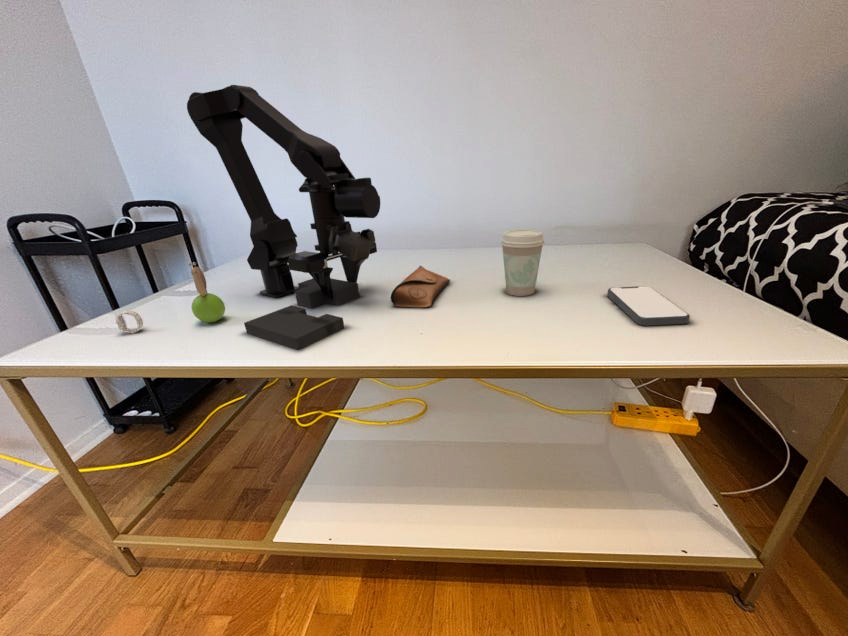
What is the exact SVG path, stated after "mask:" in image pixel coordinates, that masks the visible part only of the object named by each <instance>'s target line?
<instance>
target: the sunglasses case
mask: <svg viewBox="0 0 848 636" xmlns="http://www.w3.org/2000/svg"><path fill="white" fill-rule="evenodd" d="M450 281H451V279H450V278H448V277H446V276H443V275H441V274H438V273H436V272H433V271H431V270H428V269H426V268H425V267H424V266H422V265H419V266H418V267H417V268H416V269H415V270H414V271H413V272H411V273H409V275H408V276H406V277H405V278H404V279H403V280H402V281H401V282H400V283H399V284H397V286H395V288H394V289H393V290H392V291H391V294H390V302H391V303H392V305H394V306H395V307H397V308H407V309H417V308H418V309H419V308H420V309H421V308H422V309H423V308H429V307H432V305H433V302H434V301H435V299H436V298H437V296H438V295H439V294H440V292H442V290H443V289H445V287H446V286H447V285H448V284H449V283H450Z"/></svg>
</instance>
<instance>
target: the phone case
mask: <svg viewBox="0 0 848 636" xmlns="http://www.w3.org/2000/svg"><path fill="white" fill-rule="evenodd" d="M606 295H607V296H608V297H609V298H610V299H611V300H612V301H613V302H614V303H615V304H616V305H617V306H618V307H619V308H620V309H621V310H622V311H623V312H624V313H625V314H626V315H627V316H628V317H629V318H630V319H632V321H634V322H635V323H636V324H637V325H640V326H643V327H644V326H646V327H650V326H670V325H686V324H689V322H690V318H691V317H690V316H691V315H690V314H689V313H688V312H686V311H685V310H684V309H682V308H681V307H680V306H679V305H676V303H674V302H673V301H671V300H670V299H669V298H667V297H665V296H664V295H663V294H661V293H660V292H659V291H657V290H655V288H653V287H651V286H647V285H640V286H618V287H617V286H616V287H609V288H608V289H607V293H606Z"/></svg>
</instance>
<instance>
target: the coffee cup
mask: <svg viewBox="0 0 848 636" xmlns="http://www.w3.org/2000/svg"><path fill="white" fill-rule="evenodd" d="M500 245H501V247H502V258H503V259H502V260H503V269H504V279H505V290H506V291H505V292H506V293H507V294H508V295H511V296H515V297H525V296H531V295H533V294H534V293H535V291H536V286H537V285H536V284H537V280H538V273H539V269H540V268H539V267H540V262H541V257H542V251H543V246H544V245H545V238H544V236H543V232H542V231H540V230H536V229H513V230H507V231H505V232H503V235H502V238H501V242H500Z"/></svg>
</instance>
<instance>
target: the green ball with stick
mask: <svg viewBox="0 0 848 636" xmlns="http://www.w3.org/2000/svg"><path fill="white" fill-rule="evenodd" d="M187 265H188V266H189V267H190V273H191V276H192V279H193V283H194V286H195V289H196V291H197V293H198V294H199V295H197V296H196V297H195V298H193V300H192V302H191V311H192V314H193V315H194V317H195V318H196V319H198V320H199V321H201V322H202V323H203V322H204V323H216V322H218V321H219V320H221V319H222V318H223V317H224V315H225V312H226V306H225V302H224V301H223V300H222V299H221V297H220V296H218V295H217V294H214V293H208V289H207V288H208V287H207V280H206V276H205V274H204V271H202V269H201V268H200V267H199V266H196V265H197V262H195V261H193V262H188V263H187ZM192 266H194V267H193V268H192Z"/></svg>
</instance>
